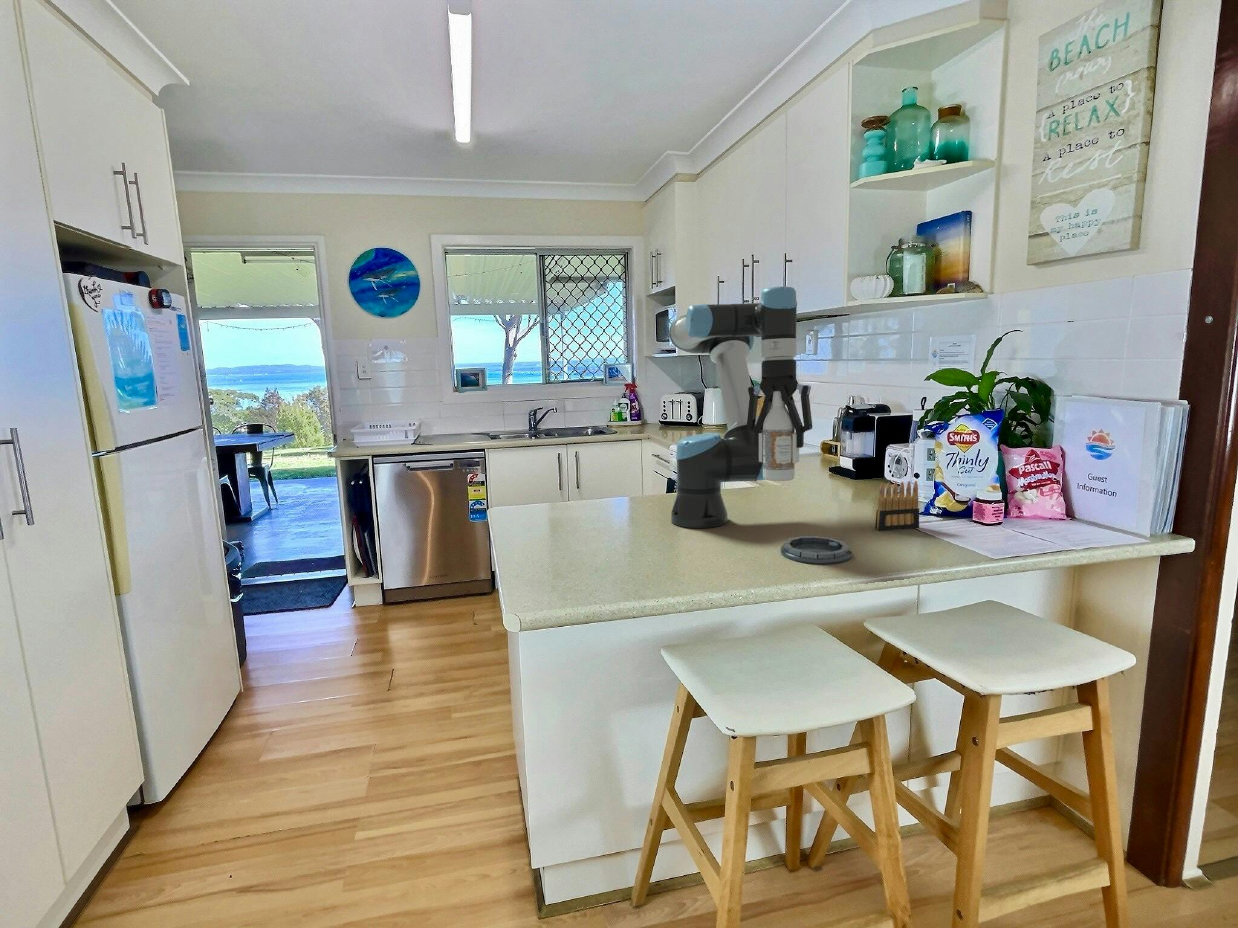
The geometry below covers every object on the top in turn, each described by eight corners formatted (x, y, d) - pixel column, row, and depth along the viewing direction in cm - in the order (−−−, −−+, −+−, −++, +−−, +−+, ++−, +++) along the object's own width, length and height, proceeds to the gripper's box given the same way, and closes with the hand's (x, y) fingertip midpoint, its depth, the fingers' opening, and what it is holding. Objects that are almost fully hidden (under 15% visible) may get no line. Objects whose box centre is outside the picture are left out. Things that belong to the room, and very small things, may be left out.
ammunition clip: (878, 531, 154) (880, 483, 152) (874, 529, 155) (876, 482, 153) (919, 528, 155) (921, 481, 153) (914, 526, 157) (917, 479, 155)
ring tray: (772, 558, 135) (772, 550, 135) (790, 540, 148) (790, 532, 148) (845, 568, 128) (845, 558, 127) (856, 548, 141) (856, 539, 140)
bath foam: (768, 482, 138) (768, 391, 135) (758, 477, 145) (758, 391, 142) (799, 480, 138) (799, 390, 136) (787, 476, 145) (788, 390, 143)
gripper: (730, 361, 140) (731, 462, 143) (820, 356, 130) (819, 465, 133) (741, 361, 146) (742, 458, 149) (828, 357, 136) (827, 461, 139)
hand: (778, 461), depth 141 cm, fingers closed on bath foam, 7 cm apart
